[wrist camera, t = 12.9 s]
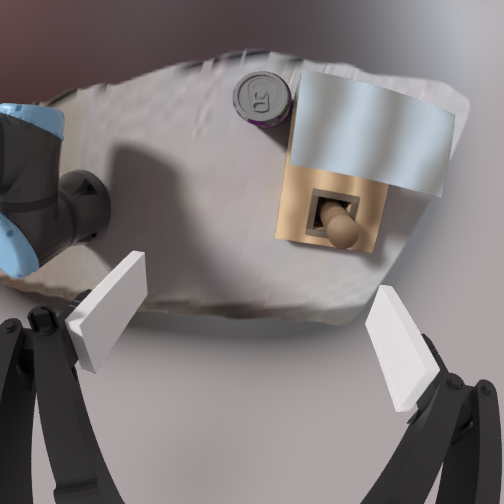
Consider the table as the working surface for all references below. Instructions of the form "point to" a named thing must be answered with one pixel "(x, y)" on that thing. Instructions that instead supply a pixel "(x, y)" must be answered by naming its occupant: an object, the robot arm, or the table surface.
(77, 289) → the table surface
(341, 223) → the peg
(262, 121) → the beverage can
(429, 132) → the socket station
